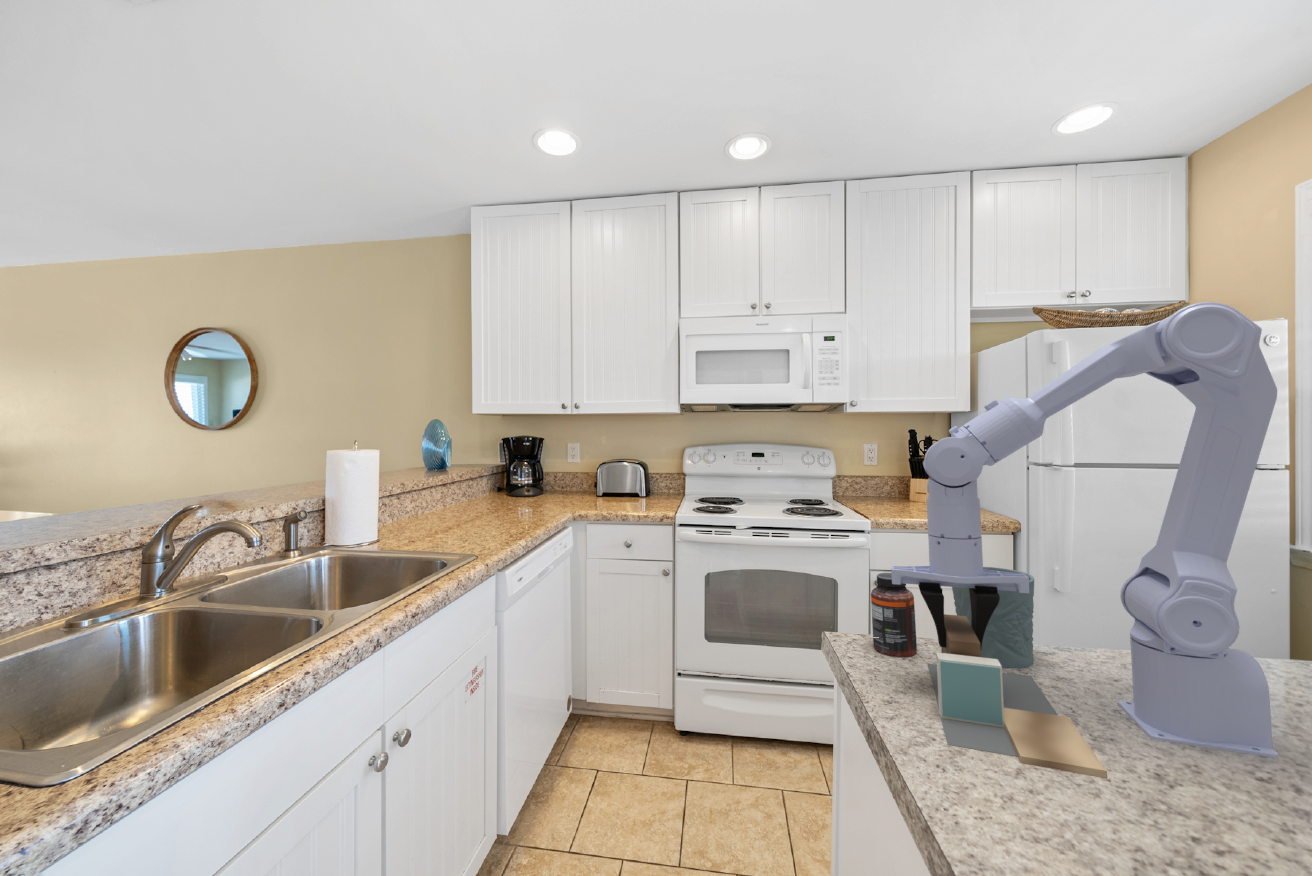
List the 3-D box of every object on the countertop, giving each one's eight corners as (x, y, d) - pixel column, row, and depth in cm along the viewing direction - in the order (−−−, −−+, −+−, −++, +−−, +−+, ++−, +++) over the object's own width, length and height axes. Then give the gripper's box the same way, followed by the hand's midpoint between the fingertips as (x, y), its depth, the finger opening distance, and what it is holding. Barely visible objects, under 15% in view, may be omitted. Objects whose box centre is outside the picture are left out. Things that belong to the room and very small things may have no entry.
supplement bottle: (907, 644, 79) (904, 570, 79) (924, 659, 73) (920, 580, 74) (867, 643, 80) (864, 570, 80) (880, 659, 74) (877, 580, 74)
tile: (1000, 718, 56) (997, 659, 57) (1004, 728, 54) (1002, 666, 55) (938, 709, 59) (936, 652, 59) (941, 718, 57) (938, 659, 57)
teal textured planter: (1054, 674, 67) (1050, 583, 68) (971, 671, 69) (967, 582, 69) (1014, 645, 77) (1010, 565, 78) (942, 643, 79) (939, 565, 79)
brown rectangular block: (967, 654, 67) (966, 616, 67) (982, 688, 57) (980, 643, 58) (941, 651, 68) (939, 613, 68) (951, 684, 59) (949, 640, 59)
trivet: (1068, 725, 55) (1067, 716, 55) (1107, 781, 46) (1106, 770, 46) (997, 714, 58) (997, 706, 58) (1020, 765, 49) (1020, 755, 49)
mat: (1031, 678, 67) (1031, 675, 67) (1095, 773, 47) (1095, 769, 47) (927, 665, 71) (927, 663, 71) (947, 747, 52) (947, 744, 52)
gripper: (1016, 532, 64) (1021, 641, 64) (889, 528, 70) (893, 628, 69) (1032, 542, 57) (1038, 664, 57) (890, 537, 63) (895, 647, 63)
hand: (959, 646), depth 63 cm, fingers closed on brown rectangular block, 3 cm apart
